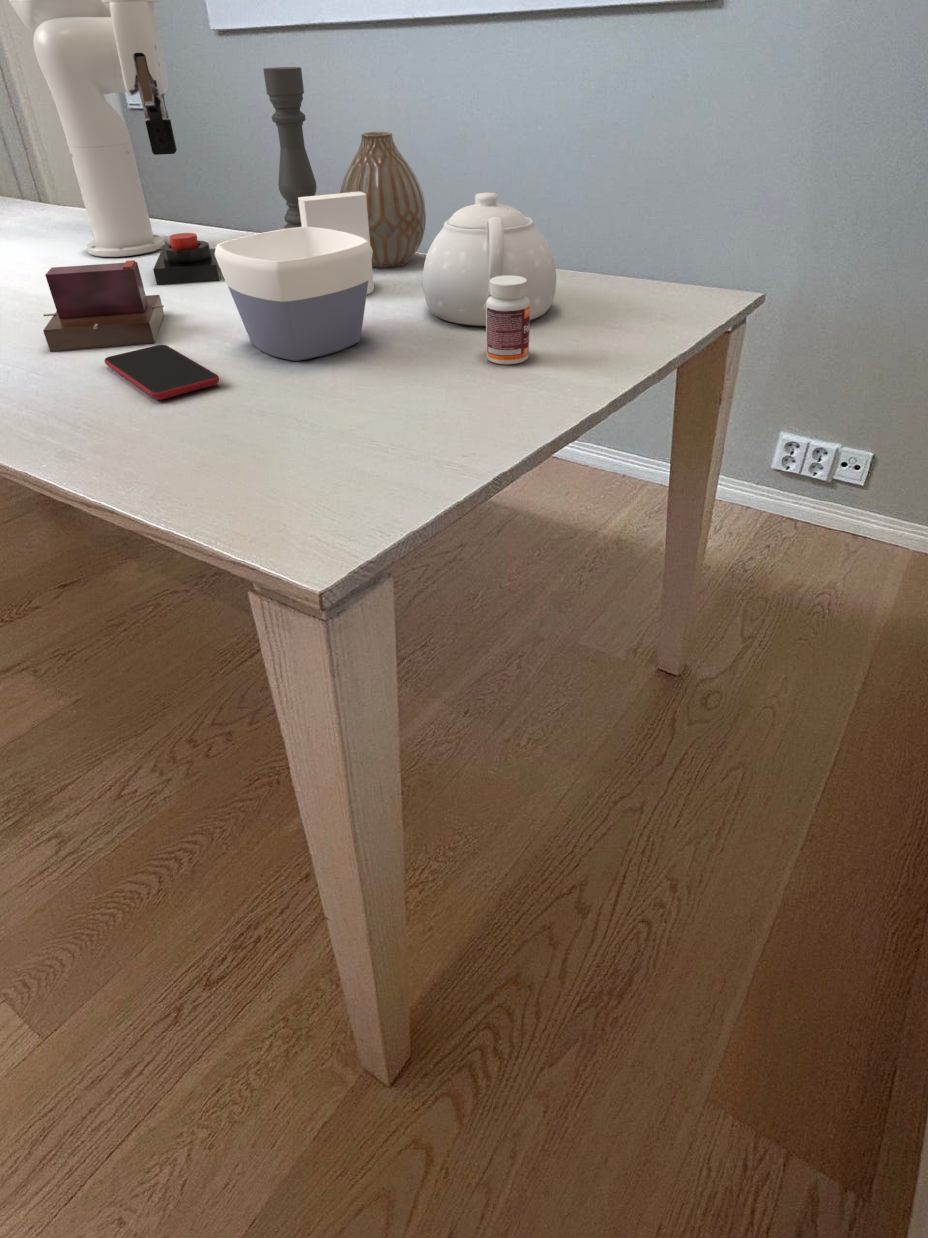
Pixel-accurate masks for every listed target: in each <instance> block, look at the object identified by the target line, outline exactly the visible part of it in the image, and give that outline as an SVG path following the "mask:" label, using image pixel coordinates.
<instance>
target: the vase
mask: <svg viewBox="0 0 928 1238" xmlns="http://www.w3.org/2000/svg"><path fill="white" fill-rule="evenodd" d="M360 137H361V139H360V144H359V147H358V150H357V152H356V154H355V155H354V157H353V159H352V161H351V163H350V165H349V167H348V168H347V171H346V173H345V175H344V178H343V180H342V183H341V187H340V192H339V193H348V192H363V193H365V194H366V200H367V212H368V224H369V236H370V246H371V248H372V250H373V253H372V268H379V269H380V268H382V269H387V268H396V267H400V266H401V267H402V266H404V265H406V264H408V262H410V260H411V259H412V257H413V256H414V255H415V254H416V253H417V251H418V250H419V248H420V246H421V244H422V241H423V238H424V234H425V231H426V223H427V222H426V221H427V219H426V217H427V213H426V211H427V210H426V201H425V197H424V194H423V193H424V192H423V190H422V187H421V185H420V182H419V179H418V178H417V176H416V174H415V172H414V170H413V168H412V167H411V166H410V165H409V163H408V161H407V160H406V159H405V157H404V156H403V155H402V153H401V152H400V150H399V149H398V147H397V145H396V143H395V140H394V137H393V133H392V132H389V131H368V132H364V133H361V135H360Z"/></svg>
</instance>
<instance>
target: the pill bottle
mask: <svg viewBox="0 0 928 1238" xmlns="http://www.w3.org/2000/svg"><path fill="white" fill-rule="evenodd" d="M489 291H490V295H491V297H489V298H488V299H487V302H486V326H485V336H486V339H485V340H486V344H485V345H486V347H485V352H486V355H485V356H486V359H487V360H488V361H489V362H490V363H494V364H497V365H498V364H499V365H517V364H521V363H523V362H525V361H526V360H528V358H529V353H530V351H529V349H530V321H531V320H530V301H529V299H528V298H527V297H526V296H525V295H526V294H527V279H526V278H524V277H521V276H511V275H506V276H497V277H493V278H491V279H490V288H489Z"/></svg>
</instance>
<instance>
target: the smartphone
mask: <svg viewBox="0 0 928 1238" xmlns="http://www.w3.org/2000/svg"><path fill="white" fill-rule="evenodd" d="M103 360H104V361H103V362H104V364H105V365H106V366H107V367H109V368H111V369H112V370H113V371H114V372H116V373H118V375H120V376H122V377H123V378H125V379H126V380H128V382H130V383H132V384H133V385H135V386H136V387H137V388H139V389H140V390H141V391H143V392H145V393H146V394H147V395H149V396H150V397H151V398H154V399H155V400H158V401H159V400H161V401H163V400H166V399H169V398H173V397H177V396H180V395H183V394H187V393H190V392H191V393H192V392H194V391H198V390H202V389H205V388H208V387H212V386H215V385H217V384H218V383H219V381H220V376H219V375H218V374H217V373H215V372H213V371H212V370H210V369H208V368H206V367H205V366H203V365H202V364H199V363H198V362H196V361H194V360H192V359H191V358H189V357H188V356H186V355H184V354H182V353H181V352H179V351H177V350H175V349H174V348H172V347H170V346H168V345H167V344H156V345H153V346H149V347H143V348H140V349H136V350H132V351H126V352H123V353H122V352H121V353H119V354H114V355H110V356H107V357H105V358H104V359H103Z"/></svg>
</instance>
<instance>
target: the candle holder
mask: <svg viewBox="0 0 928 1238" xmlns="http://www.w3.org/2000/svg"><path fill="white" fill-rule="evenodd" d="M262 69H263V76H264V82H265V91H266V95H267V96H268V97H269V99H268V100H269V102H270V103H271V104H272V107H273V108H274V110H275V111H274V112H273V114H272V115H271V121H272V122H273V123H274V124H275V126H276V127H277V133H278V140H279V141H278V142H279V149H280V150H279V152H280V153H279V168H278V181H277V182H278V183H277V184H278V190H279V193H280V195H281V197H282V199H284V200H285V205H286V206H287V207H288V208H287V210H286V213H285V214H284V221H285V222H286V225H284V226H283V229H288V228H297V227H302V225H301V217H300V210H299V202H298V197H307V196H316V193H317V188H318V187H317V181H316V178H315V175H314V171H313V168H312V165H311V163H310V159H309V156H308V153H307V149H306V147H305V146H306V145H305V138H304V132H303V131H304V130H303V125H304V122H305V121H306V120H307V119H306V115H305V113H304V112H303V111H301V107H302V103H303V100H304V97H303V95H304V94H305V90H304V81H303V71H302V67H301V66H280V67H279V66H276V67H275V66H274V67H265V68H262Z"/></svg>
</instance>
